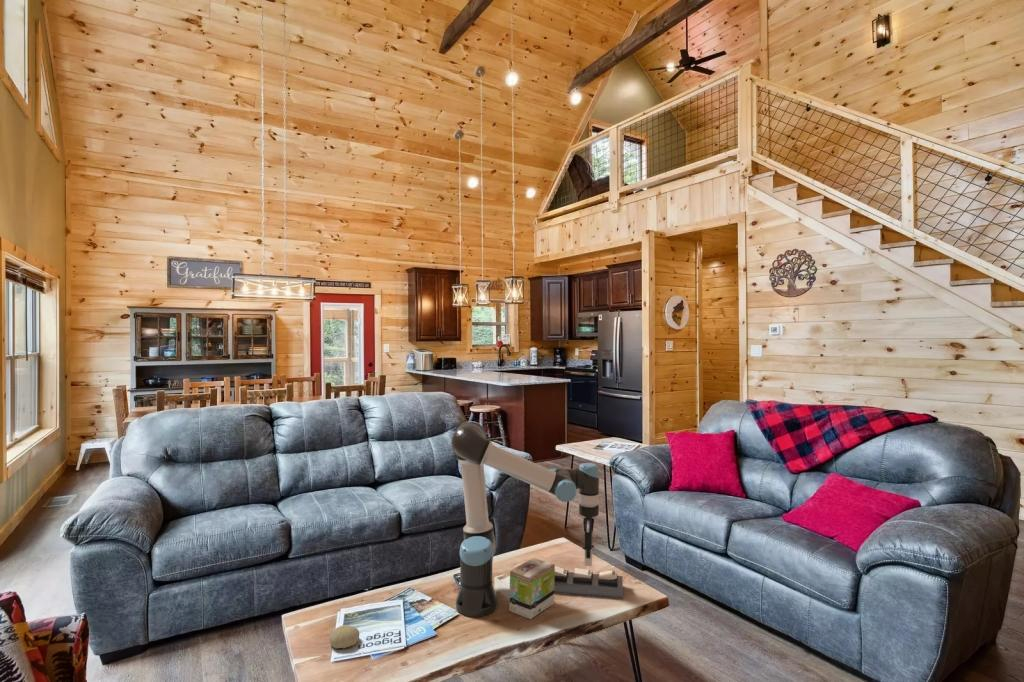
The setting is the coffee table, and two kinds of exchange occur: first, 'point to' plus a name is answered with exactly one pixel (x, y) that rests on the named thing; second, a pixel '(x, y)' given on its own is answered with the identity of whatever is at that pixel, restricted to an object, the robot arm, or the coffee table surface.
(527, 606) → the tea box
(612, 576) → the rocker
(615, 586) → the rocker switch panel
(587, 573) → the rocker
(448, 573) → the coffee table surface
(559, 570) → the rocker
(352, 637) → the brown kiwi fruit
